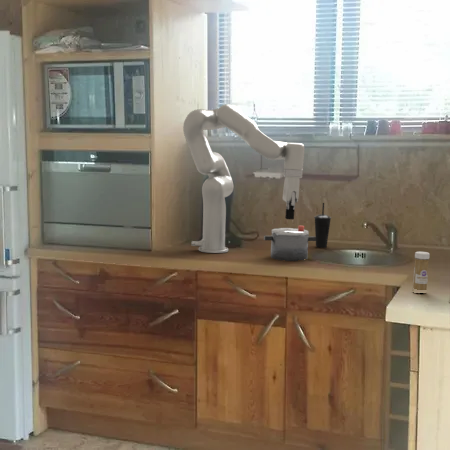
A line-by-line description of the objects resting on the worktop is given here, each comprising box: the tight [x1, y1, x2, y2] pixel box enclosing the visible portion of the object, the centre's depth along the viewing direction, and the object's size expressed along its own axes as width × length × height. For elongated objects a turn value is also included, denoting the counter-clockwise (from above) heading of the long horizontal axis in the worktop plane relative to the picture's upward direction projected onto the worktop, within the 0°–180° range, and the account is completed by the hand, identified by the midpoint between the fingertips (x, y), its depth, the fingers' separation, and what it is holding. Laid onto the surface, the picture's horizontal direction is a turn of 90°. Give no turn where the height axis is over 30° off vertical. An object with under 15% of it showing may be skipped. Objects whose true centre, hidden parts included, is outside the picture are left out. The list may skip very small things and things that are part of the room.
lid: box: [271, 225, 309, 236], centre depth 286 cm, size 15×15×3 cm
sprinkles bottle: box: [412, 251, 431, 291], centre depth 229 cm, size 5×5×13 cm
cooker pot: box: [263, 233, 316, 262], centre depth 288 cm, size 21×16×10 cm
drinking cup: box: [313, 202, 332, 249], centre depth 316 cm, size 8×8×20 cm
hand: (289, 218), depth 284 cm, fingers closed
